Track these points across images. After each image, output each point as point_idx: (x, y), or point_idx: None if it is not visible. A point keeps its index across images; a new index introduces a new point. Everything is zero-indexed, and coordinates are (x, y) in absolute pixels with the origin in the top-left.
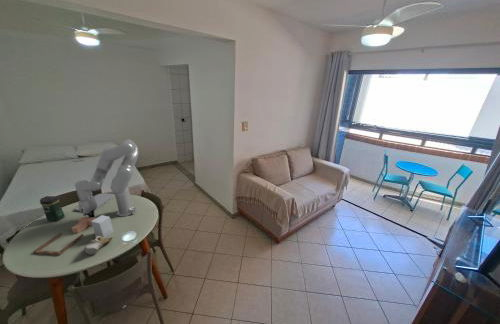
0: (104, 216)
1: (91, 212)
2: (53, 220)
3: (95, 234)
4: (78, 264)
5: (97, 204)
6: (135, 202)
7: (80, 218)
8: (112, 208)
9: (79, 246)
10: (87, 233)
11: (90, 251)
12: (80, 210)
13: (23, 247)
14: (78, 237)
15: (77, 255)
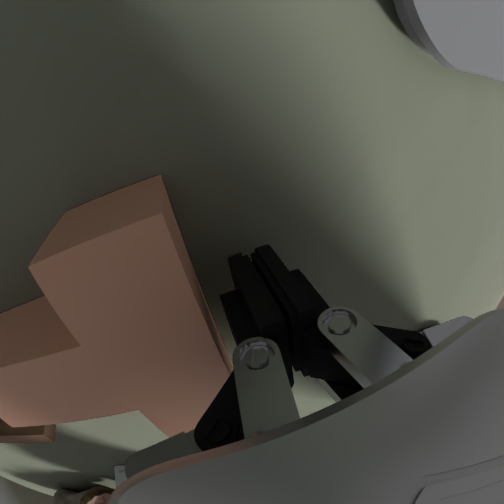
0: None
1: (328, 367)
2: None
3: (116, 486)
4: (29, 485)
5: (496, 39)
6: (483, 304)
7: (92, 243)
8: (459, 233)
9: (29, 454)
10: (82, 422)
11: None
12: None
13: None
14: (24, 439)
15: (24, 470)
